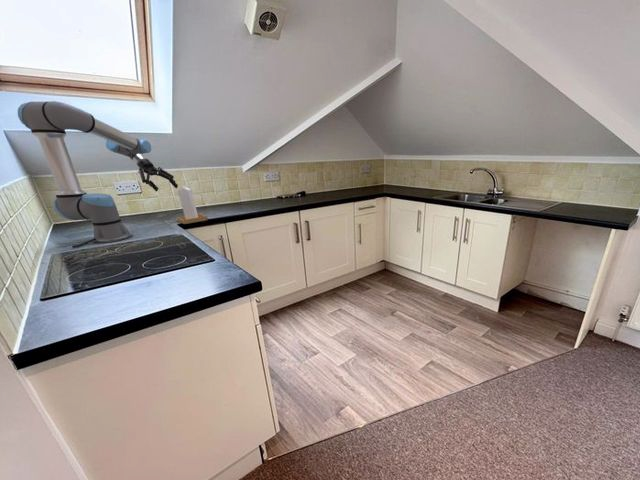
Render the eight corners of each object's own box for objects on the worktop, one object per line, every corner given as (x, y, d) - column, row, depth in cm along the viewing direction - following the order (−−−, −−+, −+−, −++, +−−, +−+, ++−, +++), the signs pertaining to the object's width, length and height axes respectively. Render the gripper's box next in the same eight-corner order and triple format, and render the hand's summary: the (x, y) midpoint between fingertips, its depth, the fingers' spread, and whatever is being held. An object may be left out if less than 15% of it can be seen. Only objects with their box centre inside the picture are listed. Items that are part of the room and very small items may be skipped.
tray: (184, 224, 186) (182, 220, 185) (177, 221, 194) (176, 217, 193) (207, 220, 195) (206, 216, 194) (200, 217, 204) (199, 213, 203)
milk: (185, 221, 191) (175, 185, 182) (189, 218, 197) (179, 184, 188) (196, 220, 192) (186, 185, 183) (199, 218, 198) (189, 183, 189)
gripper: (160, 166, 201) (182, 189, 202) (121, 169, 180) (146, 195, 181) (163, 157, 197) (186, 181, 198) (124, 159, 176) (150, 186, 177)
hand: (167, 188), depth 189 cm, fingers open, 13 cm apart
